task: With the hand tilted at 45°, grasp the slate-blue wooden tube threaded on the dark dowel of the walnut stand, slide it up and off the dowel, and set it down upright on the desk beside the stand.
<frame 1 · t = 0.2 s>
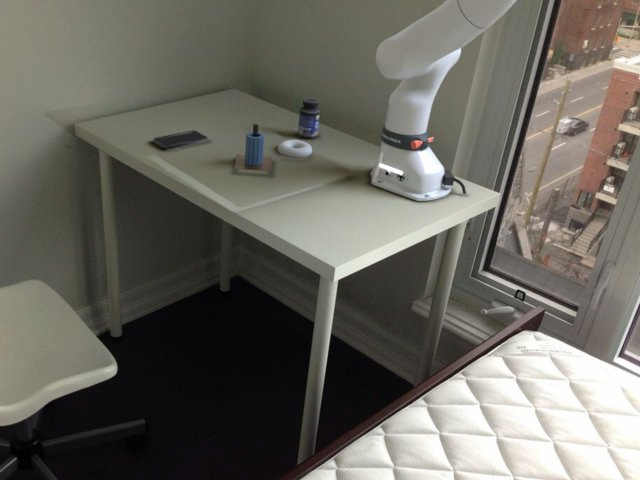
dowel stand: (253, 167, 201), on the table
phone: (180, 142, 214), on the table
tube: (253, 162, 200), point 1 cm above the table, touching dowel stand
pill bottle: (307, 136, 224), on the table
donut: (294, 155, 210), on the table
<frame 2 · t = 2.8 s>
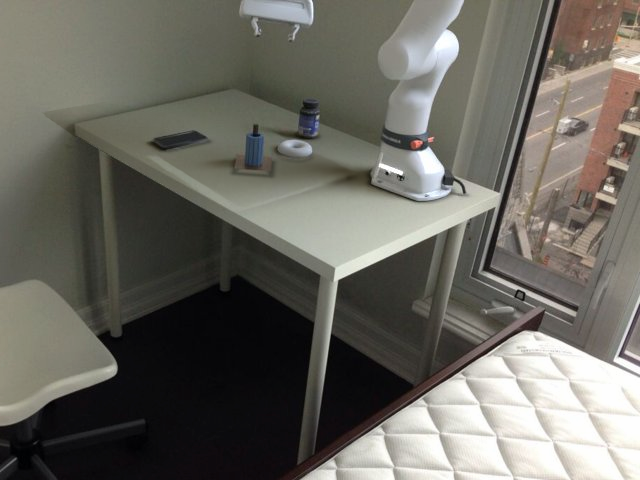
hand: (274, 38, 197), 31 cm above the table, tool tilted 35°, fingers open, 8 cm apart
nothing on the table moved.
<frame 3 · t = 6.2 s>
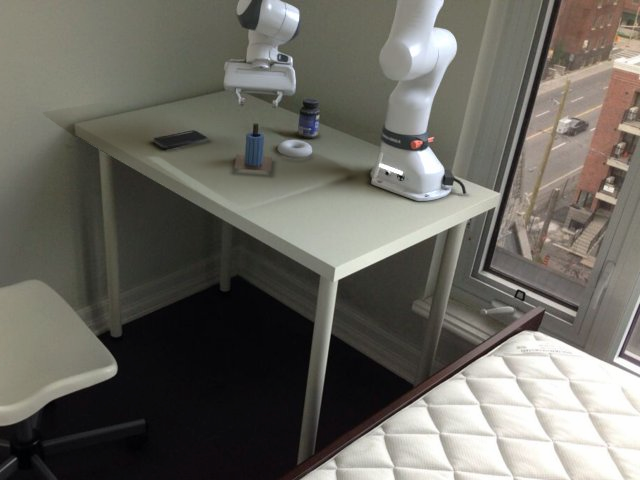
hand: (257, 106, 201), 14 cm above the table, tool tilted 45°, fingers open, 8 cm apart
nothing on the table moved.
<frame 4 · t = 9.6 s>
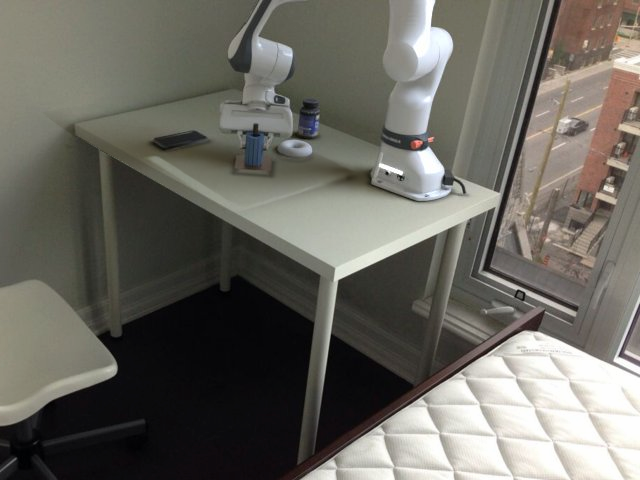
hand: (254, 149, 197), 6 cm above the table, tool tilted 45°, fingers closed on tube, 5 cm apart
tube: (253, 162, 200), point 2 cm above the table, touching dowel stand, gripper
everything else where it was.
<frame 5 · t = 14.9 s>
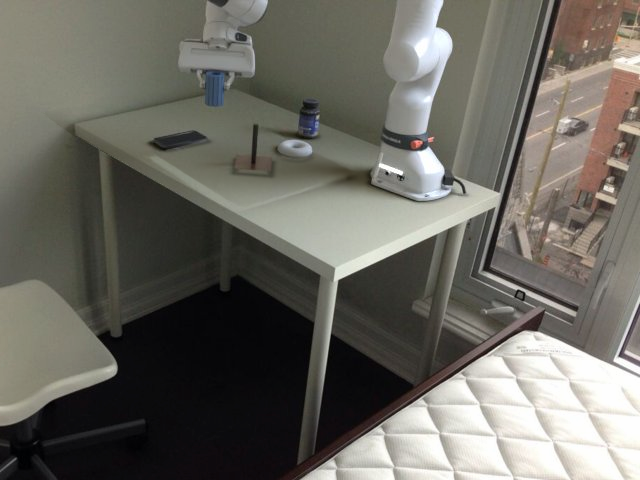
hand: (214, 88, 189), 21 cm above the table, tool tilted 45°, fingers closed on tube, 5 cm apart
tube: (214, 103, 191), point 17 cm above the table, touching gripper
everything else where it was.
when the fingers open (4 cm above the table, at t = 20.5 s): tube stays where it is, on the table.
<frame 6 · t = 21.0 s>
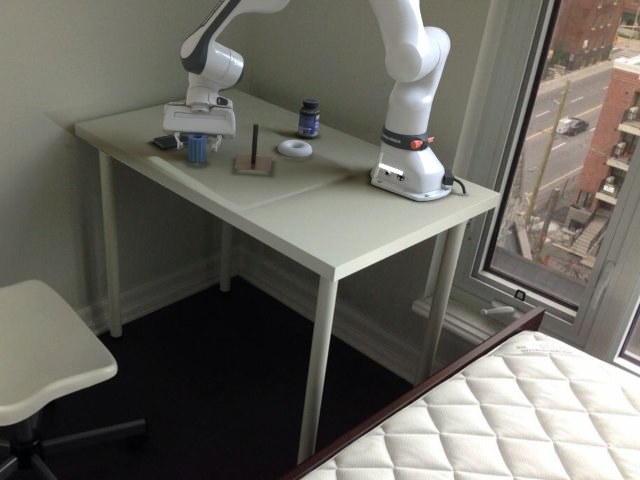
hand: (197, 150, 198), 4 cm above the table, tool tilted 45°, fingers open, 8 cm apart
tube: (196, 164, 201), on the table
everything else where it was.
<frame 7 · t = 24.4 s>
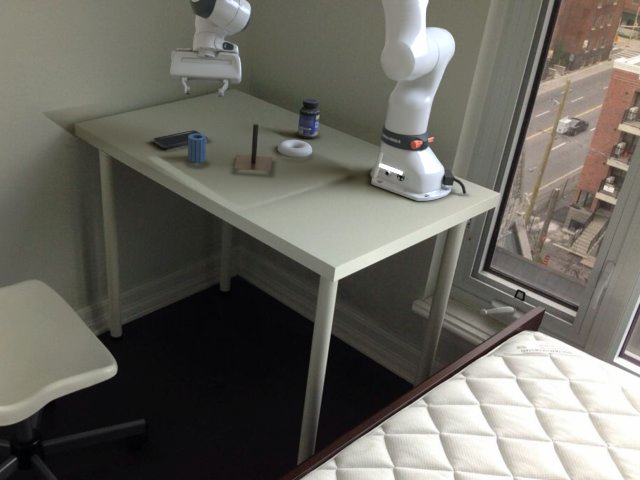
hand: (204, 94, 203), 16 cm above the table, tool tilted 45°, fingers open, 8 cm apart
nothing on the table moved.
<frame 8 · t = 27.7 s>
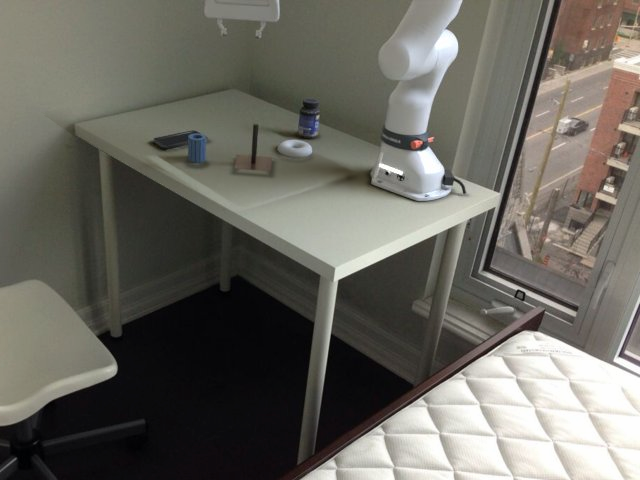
hand: (240, 36, 197), 31 cm above the table, tool pointing down, fingers open, 8 cm apart
nothing on the table moved.
at the end: tube inside the target area (0.1 cm from its centre), on the table; tube tilted 0°; the gripper is holding nothing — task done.
